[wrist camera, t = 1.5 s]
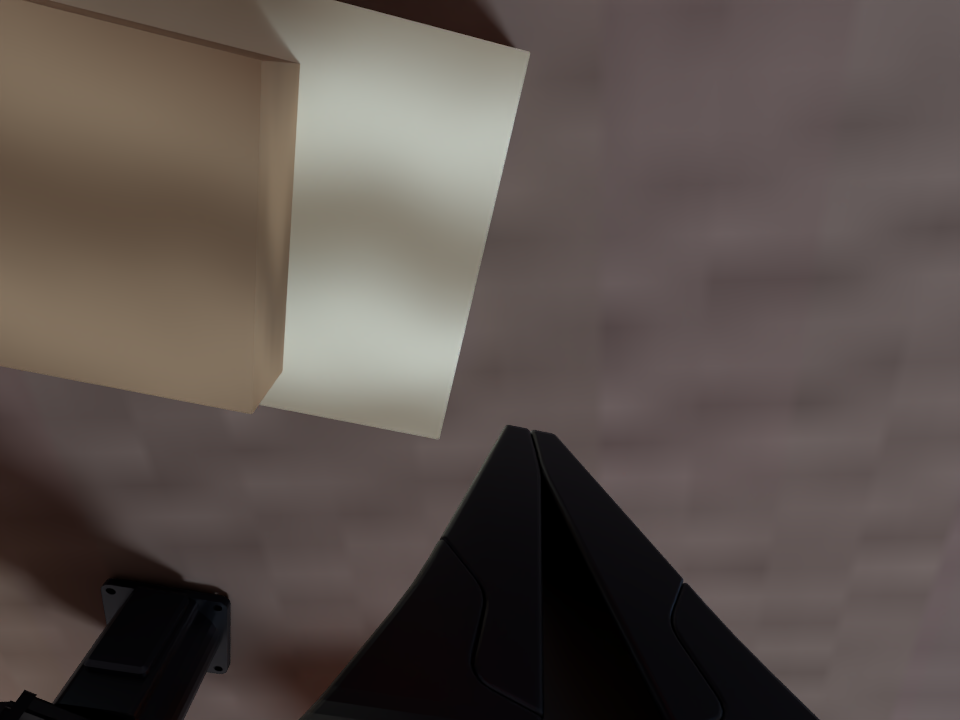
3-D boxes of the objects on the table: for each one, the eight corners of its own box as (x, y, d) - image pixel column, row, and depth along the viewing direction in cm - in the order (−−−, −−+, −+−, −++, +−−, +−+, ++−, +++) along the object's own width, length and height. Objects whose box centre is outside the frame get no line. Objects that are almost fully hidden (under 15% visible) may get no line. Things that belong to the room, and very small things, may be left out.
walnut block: (282, 371, 17) (252, 414, 15) (58, 326, 17) (-8, 364, 14) (300, 63, 13) (261, 60, 11) (2, -12, 12) (-103, -31, 10)
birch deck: (447, 381, 22) (439, 439, 18) (44, 299, 20) (-49, 345, 17) (521, 57, 16) (530, 52, 13) (-23, -86, 15) (-182, -137, 11)
